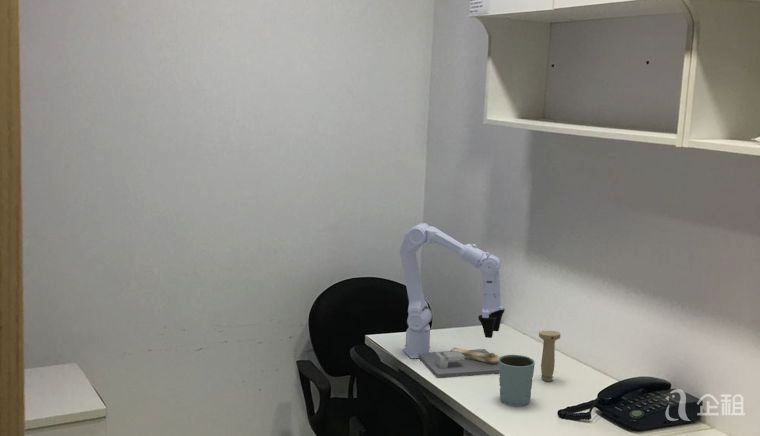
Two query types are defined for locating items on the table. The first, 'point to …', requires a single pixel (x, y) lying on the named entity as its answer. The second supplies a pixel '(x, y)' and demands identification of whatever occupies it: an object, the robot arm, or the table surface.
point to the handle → (548, 354)
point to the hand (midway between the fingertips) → (492, 334)
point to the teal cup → (515, 379)
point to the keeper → (447, 358)
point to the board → (460, 366)
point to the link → (478, 355)
